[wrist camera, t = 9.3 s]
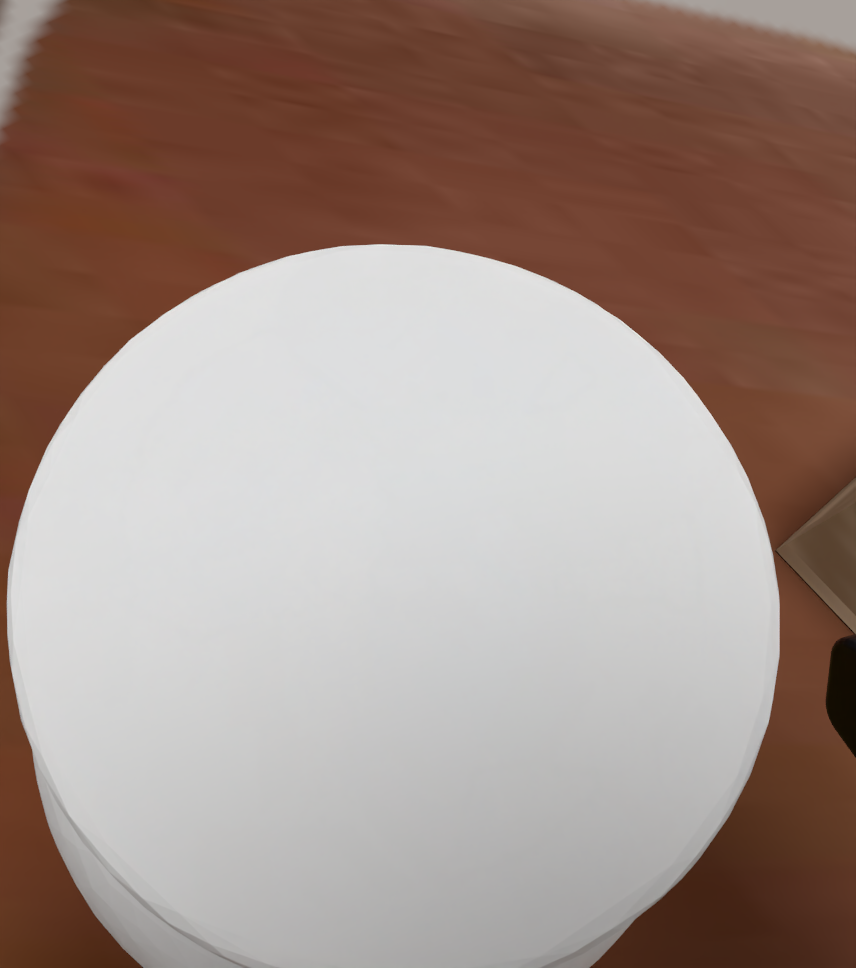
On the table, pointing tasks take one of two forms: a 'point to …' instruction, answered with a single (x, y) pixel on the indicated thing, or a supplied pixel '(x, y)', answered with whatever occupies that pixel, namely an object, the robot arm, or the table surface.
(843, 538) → the wooden box
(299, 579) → the supplement bottle
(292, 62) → the table surface
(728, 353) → the table surface
